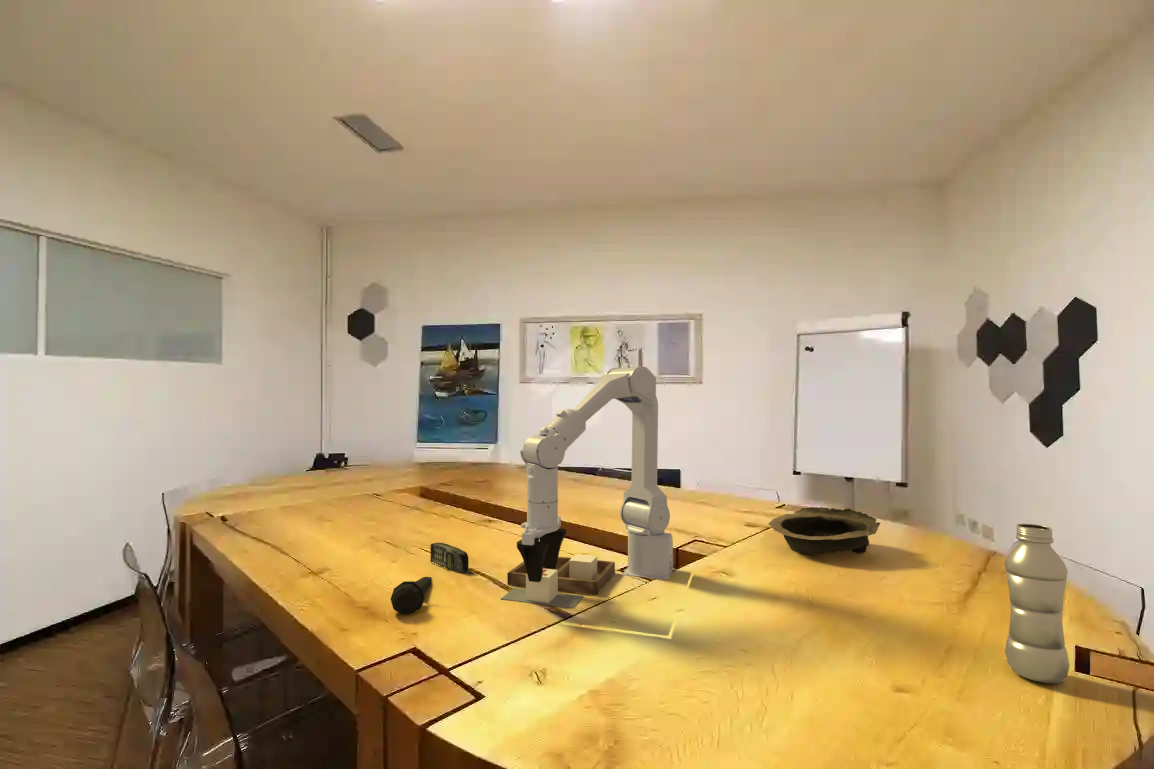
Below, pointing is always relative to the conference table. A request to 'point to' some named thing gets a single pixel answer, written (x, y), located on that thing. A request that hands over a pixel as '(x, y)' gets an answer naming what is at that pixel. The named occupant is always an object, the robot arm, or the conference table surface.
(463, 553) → the mobile phone
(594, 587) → the organizer
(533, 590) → the letter cube
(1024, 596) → the plastic bottle
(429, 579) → the microphone
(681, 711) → the conference table surface
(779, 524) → the stone bowl
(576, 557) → the blank cube
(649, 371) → the robot arm
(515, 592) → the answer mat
